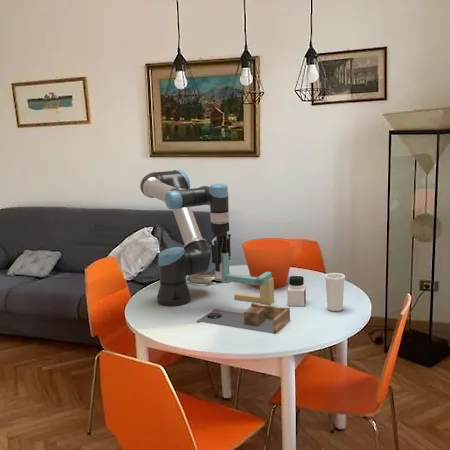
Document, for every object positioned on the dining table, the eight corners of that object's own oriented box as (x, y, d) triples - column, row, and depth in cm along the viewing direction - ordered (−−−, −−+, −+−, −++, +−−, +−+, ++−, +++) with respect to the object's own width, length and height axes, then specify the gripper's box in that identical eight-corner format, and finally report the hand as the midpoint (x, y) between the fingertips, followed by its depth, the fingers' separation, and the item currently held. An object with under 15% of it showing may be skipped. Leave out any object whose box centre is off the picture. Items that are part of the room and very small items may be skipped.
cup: (332, 304, 222) (332, 271, 219) (349, 308, 217) (349, 275, 214) (321, 309, 217) (320, 276, 214) (337, 314, 211) (337, 279, 208)
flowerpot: (296, 276, 264) (295, 237, 261) (295, 292, 240) (294, 249, 236) (246, 276, 268) (244, 238, 264) (240, 292, 244) (239, 250, 240)
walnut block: (244, 323, 205) (243, 311, 204) (251, 318, 210) (250, 306, 209) (258, 326, 202) (258, 313, 201) (265, 320, 207) (264, 308, 206)
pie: (170, 281, 268) (170, 271, 267) (206, 269, 288) (206, 260, 287) (212, 290, 250) (211, 280, 249) (247, 276, 270) (247, 267, 270)
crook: (215, 280, 221) (213, 254, 218) (228, 272, 231) (227, 248, 228) (259, 286, 211) (259, 259, 209) (271, 277, 221) (271, 252, 219)
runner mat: (196, 322, 210) (196, 321, 210) (214, 310, 222) (214, 309, 222) (275, 335, 194) (275, 333, 194) (290, 321, 206) (290, 320, 206)
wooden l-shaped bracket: (238, 327, 202) (237, 314, 201) (252, 316, 213) (252, 303, 212) (276, 334, 194) (276, 319, 193) (290, 321, 206) (289, 308, 205)
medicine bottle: (304, 306, 221) (304, 278, 219) (287, 306, 223) (287, 278, 221) (305, 300, 228) (305, 274, 226) (289, 300, 230) (288, 273, 227)
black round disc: (204, 318, 213) (204, 317, 213) (211, 313, 218) (211, 312, 218) (217, 320, 210) (217, 319, 210) (224, 315, 216) (224, 314, 215)
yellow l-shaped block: (274, 301, 229) (273, 277, 227) (269, 305, 225) (269, 280, 223) (238, 297, 237) (237, 273, 235) (233, 300, 233) (232, 276, 231)
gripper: (217, 227, 207) (219, 283, 212) (237, 218, 222) (239, 271, 227) (200, 225, 211) (203, 281, 215) (222, 217, 226) (224, 269, 230)
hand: (222, 276), depth 221 cm, fingers closed on crook, 4 cm apart
